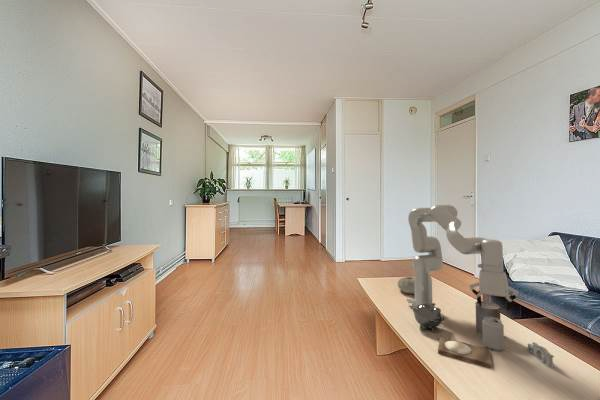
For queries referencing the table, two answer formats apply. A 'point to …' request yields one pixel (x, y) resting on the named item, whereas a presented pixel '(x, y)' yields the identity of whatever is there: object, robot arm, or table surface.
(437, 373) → the table surface
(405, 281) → the decorative shell
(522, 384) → the table surface
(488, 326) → the can
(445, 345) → the board
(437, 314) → the piggy bank
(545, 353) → the lattice window wall
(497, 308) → the pillar candle
